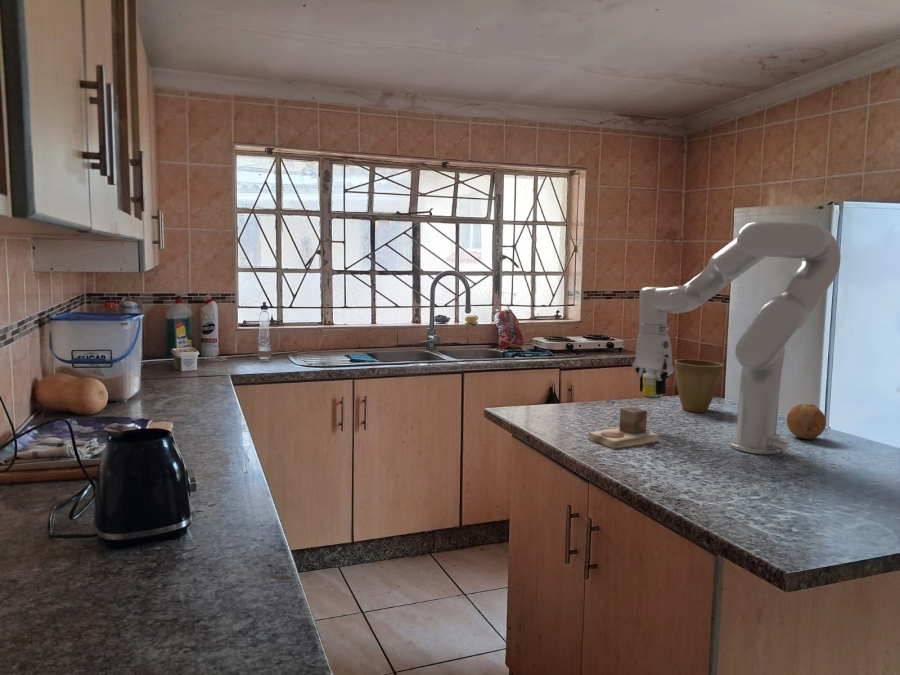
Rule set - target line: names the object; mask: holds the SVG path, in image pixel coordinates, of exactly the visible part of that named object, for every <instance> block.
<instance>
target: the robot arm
mask: <svg viewBox="0 0 900 675" xmlns="http://www.w3.org/2000/svg"><path fill="white" fill-rule="evenodd" d="M766 257H767V258H768V257H771V258H787V259H801V263H800V264H799V266H798V268H797V270H796V271H795V272H794V273H793V274H792V276H791V277H790V279H789V281H788V282H787V283H786V285H785V286H784V288H783V289H782V290H781V291H780V293H779V294H778V295H777V296H774V297H772V298H770V299H769V300H767V301H766V302H765V303H764V304H763V305H762V307H760V309H759V311H757V312H756V314H755V316H754V317H753V319H752V320H751V322H750V323H749V324H748V326H747V327H746V329H745V331H744V332H743V333H742V334H741V336H740V338H739V339H738V341H737V343H736V345H735V349H734V350H735V351H734V353H735V357H736V359H737V361H738V363H739V364H740V365H741V366H742V367H741V374H740V381H739V382H740V385H739V392H738V393H739V395H738V406H737V407H738V409H737V421H736V436H735V437H733V438H730V439H729V446H730V447H732V449H734V450H738V451H741V452H745V453H751V454H756V455H757V454H758V455H775V454H779V453H781V452H782V451H783V452H785V451H787V449H788V446H789V442H788V441H785V440H781V439H780V437H781V436H780V435H781V434H779V433H777V428H778V426H777V424H778V417H779V416H778V415H779V402H780V401H779V400H780V391H781V383H782V381H781V380H782V374H783V373H782V372H783V365H784V360H785V351H786V350H785V346H786V345H787V343H788V342H789V340H790V339H791V338H792V336H794V334H795V332H796V331H797V330H799V329H800V328H802V327H803V326H804V325H805V324H806V322H807V319H808V318H809V317H810V316H811V313H812V312H813V310H815V308H816V307H817V305H818V304H819V303H820V301H821V299H823V296H824V295H825V293H826V292H827V291H828V289H829V288H830V286H831V285H832V283H833V282H834V280H835V278H837V277H836V276H837V275H838V272H839V269H840V265H841V250H840V247H839V244H838V242H837V240H836V238H835V237H834V235H833V234H832V233H831V232H830V230H828V229H827V228H825V227H824V226H822V225H819V224H816V223H815V224H814V223H809V222H782V221H781V222H777V221H760V220H757V221H751V222H748V223H747V224H745V225H743V227H741V228H740V230H739V231H738V234H737V237H736V238H734V239H733V240H732V241H730V242H729V243H727V245H724V247H722V248H721V249H720V250H718V251H716V252H715V253H714V254H713V255H712V256H711V257H710V258H709V261H708V263H707V265H706V267H705V268H704V269H702V271H701V272H700V273H698V275H696V276H694V277H693V278H692V279H691V280H690V281H687V283H685V284H683V285H676V286H670V287H663V286H645V287H642V288H641V289H640V290H639V319H638V320H639V323H638V325H639V328H638V329H639V331H638V335H637V339H636V344H635V345H636V346H635V347H636V348H635V359H634V361H633V362H632V363H631V366H632V367H633V368H634V369H635V372H636V373H637V376H638V378H639V392H641V393H643V374H644V373H645V372H646V370H645V368H649V369H651V370H656V374H657V378H658V381H656V394H657V395H660V394H662V395H665V394H666V385H667V383H666V381H668V379H669V377H670V376H671V374H673V373H675V366H674V365H673V357H672V356H673V354H672V353H673V352H672V343H671V339H670V335H668V332H669V330H670V328H669V327H668V321H667V320H668V313H669V314H671V313H672V314H682V313H688V312H692V311H694V310H696V309H698V308H699V307H701V306H702V305H704V304H705V303H706V302H708V301H709V300H710V299H713V297H715V296H716V295H717V294H718V293H720V292H721V291H722V290H723V289H725V288H726V287H727V286H729V285H730V284H731V283H732V282H733V281H734V280H735V279H737V278H739V277H740V276H741V275H743V274H744V273H746V272H747V271H749V269H751V268H753V267H754V266H755V265H756V264H758V263H759V262H761V261H762V260H763V259H765V258H766ZM661 374H662V375H661Z"/></svg>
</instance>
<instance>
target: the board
mask: <svg viewBox="0 0 900 675" xmlns="http://www.w3.org/2000/svg"><path fill="white" fill-rule="evenodd" d="M619 428H620V427H615V428H609V429H602V430H596V431H595V430H593V431H588V438H587V439H588V441H591V440H592V442H593V443H594V442H595V443H597V444H599V443H600V445H602V444H603V445H602V446H604V447H605V446H606V447H608V448H610V449H613V450H617V449H621V448H622V447H623V448H629V447H633V446H634V445H635V446H639V445H645V443H646V444H651V442H652V443H657V441H658V442H659V434H658V433H655V432H652V431H649V430H646V432H644V433H638V434H630V433H627V432H624V431H621V430H619ZM628 446H629V447H628ZM623 448H622V449H623Z"/></svg>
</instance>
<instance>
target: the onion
mask: <svg viewBox="0 0 900 675" xmlns="http://www.w3.org/2000/svg"><path fill="white" fill-rule="evenodd" d="M786 424H787V429H788V431H789V432H790V433H791V434H792V435H794V436H795V437H797V438H798V437H799V438H798V439H801V438H803V439H802V440H812V439H815V438H817V437H819V436H820V435H821V436H822V434H823V433H824V431H825V429H826V427H827V426H826V425H827V420H826V416H825V414H824V412H823V411H822V410H821V409H820V408H819V407H818V406H817V405H815V404H812V403H802V404H797V405H794V406H793V407H792V408H791V409H790V410H789V412H788V414H787V416H786Z"/></svg>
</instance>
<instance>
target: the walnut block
mask: <svg viewBox="0 0 900 675" xmlns="http://www.w3.org/2000/svg"><path fill="white" fill-rule="evenodd" d="M619 411H620V413H619V414H620V415H619V427H618V428H619V430H621V431H624V432H627V433H630V434H638V433H644V432H646V431H647V422H648V420H647V419H648V410H646V409H642V408H638V407H637V406H636V407H635V406H632V407H623V408H620V410H619Z"/></svg>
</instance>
